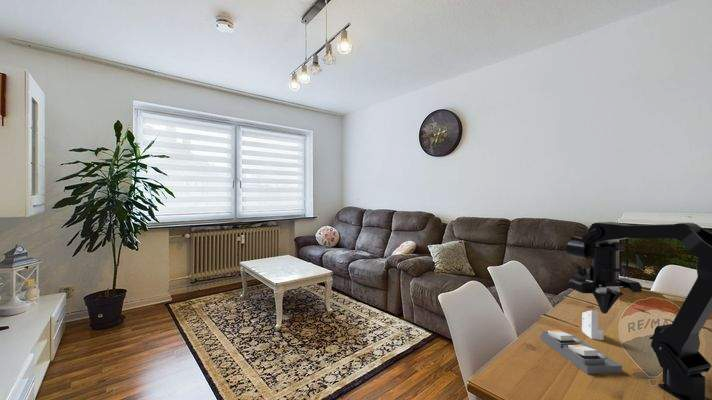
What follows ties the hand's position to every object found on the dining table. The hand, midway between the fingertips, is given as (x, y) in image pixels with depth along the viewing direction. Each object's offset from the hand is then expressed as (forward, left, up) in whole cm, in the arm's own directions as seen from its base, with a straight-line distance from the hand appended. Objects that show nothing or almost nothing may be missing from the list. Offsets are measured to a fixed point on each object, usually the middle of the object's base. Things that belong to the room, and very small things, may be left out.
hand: (603, 313), depth 90 cm
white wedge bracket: (+12, -7, -13) cm, 19 cm away
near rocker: (-4, +10, -10) cm, 15 cm away
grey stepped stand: (0, +8, -13) cm, 15 cm away
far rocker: (+5, +10, -10) cm, 15 cm away
